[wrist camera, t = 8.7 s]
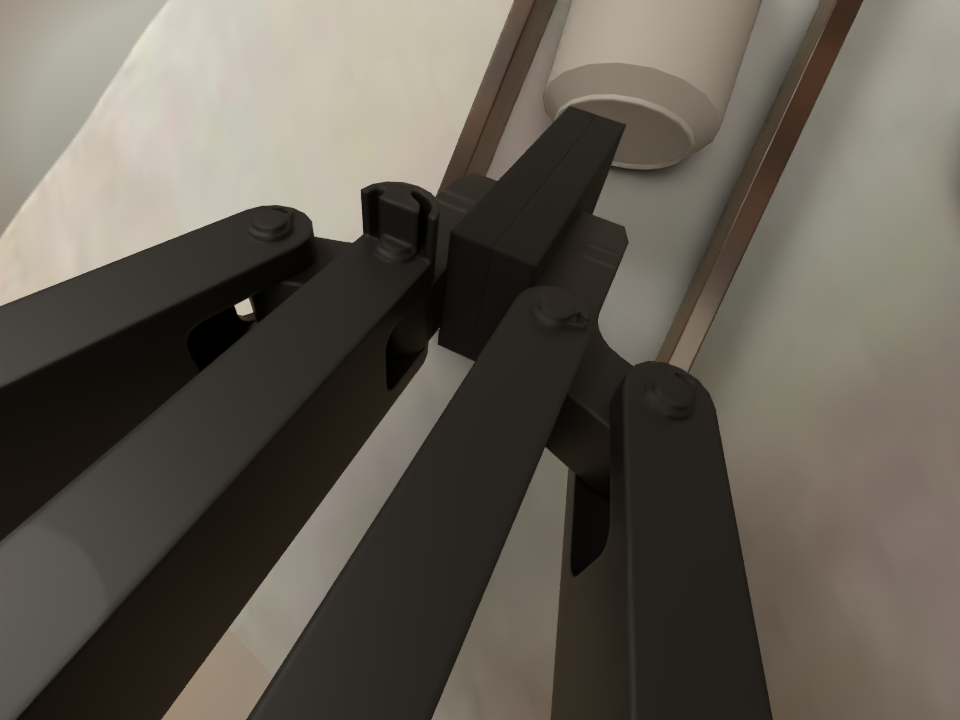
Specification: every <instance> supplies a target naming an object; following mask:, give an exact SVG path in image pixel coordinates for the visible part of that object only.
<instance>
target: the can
mask: <svg viewBox="0 0 960 720" xmlns="http://www.w3.org/2000/svg"><path fill="white" fill-rule="evenodd" d="M761 1H762V0H572V2H571V5H570V9H569V12H568V15H567V19H566V22H565V25H564V29H563V32H562V35H561V39H560V42H559V45H558V49H557V52H556V56H555V59H554V62H553V66H552V69H551V72H550V76H549V79H548V82H547V86H546V89H545V92H544V96H543V99H544V105H545V111H546V113H547V114H548V116H549V117H550V119H551V120H552V122H554V121H555V120H556V119H557V118H558V117H559V116H560V115H561V114H562V113H563V112H564V111H565V110H566V109H567V108H568V107H569V106H572V107H575V108H578V109H581V110H584V111H587V112H590V113H593V114H596V115H599V116H602V117H605V118H608V119H611V120H614V121H617V122H620V123H623V124H626V127H625V129H624V132H623V135H622V137H621V140H620V143H619V145H618V148H617V151H616V153H615V156H614V158H613V161H612V164H611V166H616V167H621V168H627V169H641V170H647V169H659V168H664V167H668V166H671V165H675V164H678V163H679V162H680V161H682V160H683V159H685V158H686V157H688V156H689V155H691V154H693V153H695V152H697V151H699V150H700V149H702V148H703V147H705V146H706V145H708V144H709V143H711V142H712V141H713V139H714V137H715V136H716V134H717V132H718V130H719V129H720V126H721V123H722V120H723V117H724V114H725V111H726V108H727V105H728V102H729V99H730V96H731V93H732V90H733V87H734V84H735V81H736V78H737V74H738V71H739V68H740V65H741V62H742V59H743V56H744V53H745V50H746V47H747V44H748V41H749V38H750V35H751V32H752V29H753V26H754V23H755V20H756V16H757V13H758V10H759V7H760V4H761Z"/></svg>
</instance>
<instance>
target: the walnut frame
mask: <svg viewBox="0 0 960 720" xmlns="http://www.w3.org/2000/svg"><path fill="white" fill-rule="evenodd" d="M862 2H863V0H821V2H820V5H819V7H818V9H817V11H816V13H815V15H814V18H813V20H812V22H811V24H810V26H809V28H808V31H807V33H806V35H805V37H804V39H803V41H802V44H801V46H800V48H799V50H798V52H797V54H796V57H795V59H794V61H793V63H792V65H791V67H790V70H789V72H788V74H787V76H786V78H785V80H784V83H783V85H782V87H781V89H780V91H779V93H778V96H777V98H776V100H775V102H774V104H773V106H772V109H771V111H770V113H769V115H768V117H767V119H766V122H765V124H764V126H763V128H762V130H761V132H760V135H759V137H758V139H757V141H756V143H755V145H754V148H753V150H752V152H751V154H750V156H749V158H748V161H747V163H746V165H745V167H744V169H743V171H742V174H741V176H740V178H739V180H738V182H737V185H736V187H735V189H734V191H733V193H732V195H731V198H730V200H729V202H728V204H727V206H726V208H725V211H724V213H723V215H722V217H721V219H720V221H719V224H718V226H717V228H716V230H715V232H714V234H713V237H712V239H711V241H710V243H709V245H708V247H707V250H706V252H705V254H704V256H703V258H702V260H701V263H700V265H699V267H698V269H697V271H696V273H695V276H694V278H693V280H692V282H691V284H690V286H689V289H688V291H687V293H686V295H685V297H684V299H683V302H682V304H681V306H680V308H679V310H678V312H677V315H676V317H675V319H674V321H673V323H672V325H671V328H670V330H669V332H668V334H667V336H666V338H665V341H664V343H663V345H662V347H661V349H660V351H659V354H658V356H657V358H656V360H655V362H666V363H668V364H671V365H674V366H676V367H679V368H681V369H683V370H685V371H686V372H687V373H689V371H690V368H691V366H692V364H693V362H694V360H695V358H696V356H697V354H698V351H699V349H700V347H701V345H702V343H703V341H704V339H705V336H706V334H707V332H708V330H709V328H710V326H711V324H712V322H713V319H714V317H715V315H716V313H717V311H718V309H719V307H720V305H721V302H722V300H723V298H724V296H725V294H726V292H727V290H728V288H729V285H730V283H731V281H732V279H733V277H734V275H735V273H736V270H737V268H738V266H739V264H740V262H741V260H742V258H743V256H744V253H745V251H746V249H747V247H748V245H749V243H750V241H751V239H752V236H753V234H754V232H755V230H756V228H757V226H758V224H759V222H760V219H761V217H762V215H763V213H764V211H765V209H766V207H767V204H768V202H769V200H770V198H771V196H772V194H773V192H774V190H775V187H776V185H777V183H778V181H779V179H780V177H781V175H782V173H783V170H784V168H785V166H786V164H787V162H788V160H789V158H790V156H791V153H792V151H793V149H794V147H795V145H796V143H797V141H798V139H799V136H800V134H801V132H802V130H803V128H804V126H805V124H806V121H807V119H808V117H809V115H810V113H811V111H812V109H813V107H814V104H815V102H816V100H817V98H818V96H819V94H820V92H821V90H822V87H823V85H824V83H825V81H826V79H827V77H828V75H829V73H830V70H831V68H832V66H833V64H834V62H835V60H836V58H837V55H838V53H839V51H840V49H841V47H842V45H843V43H844V41H845V38H846V36H847V34H848V32H849V30H850V28H851V26H852V24H853V21H854V19H855V17H856V15H857V13H858V11H859V9H860V7H861V4H862ZM555 3H556V0H514V2H513V5H512V7H511V10H510V12H509V15H508V17H507V20H506V23H505V25H504V28H503V30H502V33H501V35H500V38H499V40H498V43H497V45H496V48H495V50H494V53H493V55H492V58H491V60H490V63H489V65H488V68H487V70H486V73H485V75H484V78H483V80H482V83H481V85H480V88H479V90H478V93H477V95H476V98H475V100H474V103H473V105H472V108H471V110H470V113H469V115H468V118H467V120H466V123H465V125H464V128H463V130H462V133H461V135H460V138H459V140H458V143H457V145H456V148H455V150H454V153H453V155H452V158H451V160H450V163H449V165H448V168H447V170H446V173H445V175H444V178H443V180H442V183H441V185H440V188H439V190H438V193H437V195H438V194H439V193H440V192H443V189H445V188H446V187H447V186H448V185H449V184H450V183H451V182H452V181H453V180H454V179H456V178H459V177H462V176H465V175H468V174H471V173H477V174H479V175H482V176H485V175H486V172H487V170H488V167H489V165H490V162H491V160H492V157H493V155H494V152H495V150H496V148H497V145H498V143H499V140H500V138H501V135H502V133H503V130H504V128H505V125H506V123H507V121H508V118H509V116H510V113H511V111H512V108H513V106H514V103H515V101H516V98H517V96H518V94H519V91H520V89H521V86H522V84H523V81H524V79H525V76H526V74H527V71H528V69H529V67H530V64H531V62H532V59H533V57H534V54H535V52H536V49H537V47H538V45H539V42H540V40H541V37H542V35H543V32H544V30H545V27H546V25H547V22H548V20H549V18H550V15H551V13H552V10H553V8H554V5H555ZM437 195H436V196H437Z"/></svg>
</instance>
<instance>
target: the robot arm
mask: <svg viewBox="0 0 960 720" xmlns="http://www.w3.org/2000/svg"><path fill="white" fill-rule="evenodd" d="M625 127H626V124H623V123H620V122H617V121H614V120H611V119H608V118H605V117H602V116H599V115H596V114H593V113H590V112H587V111H584V110H581V109H578V108H575V107H572V106H569V107H568V108H567V109H566V110H565V111H564V112H563V113H562V114H561V115H560V116H559V117H558V118H557V119H556V120H555V121H554V122H553V123H552V125H551V126H550V127H549V128H548V129H547V130H546V131H545V132H544V133H543V134H542V135H541V136H540V137H539V138H538V139H537V140H536V141H535V142H534V144H533V145H532V146H531V147H530V148H529V149H528V150H527V151H526V152H525V153H524V154H523V155H522V156H521V157H520V158H519V159H518V160H517V162H516V163H515V164H514V165H513V166H512V167H511V168H510V169H509V170H508V171H507V172H506V173H505V174H504V175H503V176H502V177H501V178H500V179H499V181H495V180H493V179H490V178H487V177H485V176H482V175H479V174H477V173H471V174H468V175H465V176H462V177H459V178H456V179H454V180H453V181H452V182H451V183H450V184H449V185H448V186H447V187H446V188H445V189H443V192H440V193H439V194H438V195H437V196H436V197H434V196H433V195H432V194H431V193H430V192H428V191H426V190H424V189H423V188H421V187H419V186H415V185H412V184H408V183H404V182H382V183H376V184H372V185H370V186H367V187H365V188H363V189H361V201H362V218H363V235H362V236H361V237H360V238H358V239H357V240H356V241H355V242H354V243H349V242H342V241H336V240H330V239H324V238H318V237H314V233H313V227H312V221H311V220H310V219H309V218H308V217H307V216H306V214H305V213H303V212H300V211H298V210H296V209H294V208H290V207H284V206H279V205H272V206H260V207H256V208H252V209H248V210H245V211H243V212H240V213H237V214H235V215H232V216H230V217H227V218H225V219H222V220H220V221H217V222H214V223H212V224H209V225H207V226H204V227H202V228H199V229H197V230H194V231H191V232H189V233H186V234H184V235H181V236H179V237H176V238H174V239H171V240H168V241H166V242H163V243H161V244H158V245H156V246H153V247H151V248H148V249H145V250H143V251H140V252H138V253H135V254H133V255H130V256H128V257H125V258H122V259H120V260H117V261H115V262H112V263H110V264H107V265H105V266H102V267H100V268H97V269H94V270H92V271H89V272H87V273H84V274H82V275H79V276H77V277H74V278H71V279H69V280H66V281H64V282H61V283H59V284H56V285H54V286H51V287H48V288H46V289H43V290H41V291H38V292H36V293H33V294H31V295H28V296H25V297H23V298H20V299H18V300H15V301H13V302H10V303H8V304H5V305H2V306H0V720H161V719H162V718H163V716H164V715H165V714H166V712H167V711H168V710H169V708H170V707H171V705H172V704H173V703H174V701H175V700H176V699H177V697H178V696H179V695H180V693H181V692H182V691H183V689H184V688H185V686H186V685H187V684H188V682H189V681H190V680H191V678H192V677H193V676H194V674H195V673H196V672H197V670H198V669H199V667H200V666H201V665H202V663H203V662H204V661H205V659H206V658H207V656H208V655H209V654H210V652H211V651H212V650H213V648H214V647H215V646H216V644H217V643H218V642H219V640H220V639H221V637H222V636H223V635H224V633H225V632H226V631H227V629H228V628H229V627H230V625H231V624H232V623H233V621H234V620H235V619H236V617H237V616H238V614H239V613H240V612H241V610H242V609H243V608H244V606H245V605H246V604H247V602H248V601H249V600H250V598H251V597H252V595H253V594H254V593H255V591H256V590H257V589H258V587H259V586H260V585H261V583H262V582H263V581H264V579H265V578H266V576H267V575H268V574H269V572H270V571H271V570H272V568H273V567H274V566H275V564H276V563H277V561H278V560H279V559H280V557H281V556H282V555H283V553H284V552H285V551H286V549H287V548H288V547H289V545H290V544H291V542H292V541H293V540H294V538H295V537H296V536H297V534H298V533H299V532H300V530H301V529H302V528H303V526H304V525H305V523H306V522H307V521H308V519H309V518H310V517H311V515H312V514H313V513H314V511H315V510H316V509H317V507H318V506H319V504H320V503H321V502H322V500H323V499H324V498H325V496H326V495H327V494H328V492H329V491H330V489H331V488H332V487H333V485H334V484H335V483H336V481H337V480H338V479H339V477H340V476H341V475H342V473H343V472H344V470H345V469H346V468H347V466H348V465H349V464H350V462H351V461H352V460H353V458H354V457H355V456H356V454H357V453H358V451H359V450H360V449H361V447H362V446H363V445H364V443H365V442H366V441H367V439H368V438H369V436H370V435H371V434H372V432H373V431H374V430H375V428H376V427H377V426H378V424H379V423H380V422H381V420H382V419H383V417H384V416H385V415H386V413H387V412H388V411H389V409H390V408H391V407H392V405H393V404H394V403H395V401H396V400H397V398H398V397H399V396H400V394H401V393H402V392H403V390H404V389H405V388H406V386H407V385H408V384H409V382H410V381H411V379H412V378H413V377H414V375H415V374H416V373H417V371H418V370H419V369H420V367H421V366H422V364H423V363H424V361H425V359H426V356H427V354H428V342H429V340H430V339H431V338H432V336H433V335H434V334H435V332H436V331H437V330H438V329H439V327H440V329H439V338H438V345H440V346H442V347H444V348H447V349H449V350H451V351H453V352H456V353H458V354H460V355H462V356H464V357H467V358H469V359H471V360H473V361H475V363H474V364H473V366H472V367H471V369H470V371H469V372H468V374H467V375H466V377H465V378H464V380H463V382H462V383H461V385H460V386H459V388H458V389H457V391H456V393H455V394H454V396H453V397H452V399H451V400H450V402H449V403H448V405H447V407H446V408H445V410H444V411H443V413H442V414H441V416H440V418H439V419H438V421H437V422H436V424H435V425H434V427H433V428H432V430H431V432H430V433H429V435H428V436H427V438H426V439H425V441H424V443H423V444H422V446H421V447H420V449H419V450H418V452H417V453H416V455H415V457H414V458H413V460H412V461H411V463H410V464H409V466H408V468H407V469H406V471H405V472H404V474H403V475H402V477H401V479H400V480H399V482H398V483H397V485H396V486H395V488H394V489H393V491H392V493H391V494H390V496H389V497H388V499H387V500H386V502H385V504H384V505H383V507H382V508H381V510H380V511H379V513H378V514H377V516H376V518H375V519H374V521H373V522H372V524H371V525H370V527H369V529H368V530H367V532H366V533H365V535H364V536H363V538H362V539H361V541H360V543H359V544H358V546H357V547H356V549H355V550H354V552H353V554H352V555H351V557H350V558H349V560H348V561H347V563H346V565H345V566H344V568H343V569H342V571H341V572H340V574H339V575H338V577H337V579H336V580H335V582H334V583H333V585H332V586H331V588H330V590H329V591H328V593H327V594H326V596H325V597H324V599H323V600H322V602H321V604H320V605H319V607H318V608H317V610H316V611H315V613H314V615H313V616H312V618H311V619H310V621H309V622H308V624H307V625H306V627H305V629H304V630H303V632H302V633H301V635H300V636H299V638H298V640H297V641H296V643H295V644H294V646H293V647H292V649H291V651H290V652H289V654H288V655H287V657H286V658H285V660H284V661H283V663H282V665H281V666H280V668H279V669H278V671H277V672H276V674H275V676H274V677H273V679H272V680H271V682H270V683H269V685H268V686H267V688H266V690H265V691H264V693H263V694H262V696H261V698H260V699H259V701H258V702H257V704H256V705H255V707H254V708H253V710H252V711H251V713H250V715H249V716H248V718H247V719H246V720H431V719H432V717H433V714H434V712H435V709H436V707H437V705H438V702H439V700H440V697H441V695H442V693H443V690H444V688H445V685H446V683H447V681H448V678H449V676H450V673H451V671H452V669H453V666H454V664H455V661H456V659H457V657H458V654H459V652H460V649H461V647H462V645H463V642H464V640H465V638H466V635H467V633H468V630H469V628H470V626H471V623H472V621H473V618H474V616H475V614H476V611H477V609H478V606H479V604H480V602H481V599H482V597H483V594H484V592H485V590H486V587H487V585H488V582H489V580H490V578H491V575H492V573H493V570H494V568H495V566H496V563H497V561H498V558H499V556H500V554H501V551H502V549H503V547H504V544H505V542H506V539H507V537H508V535H509V532H510V530H511V527H512V525H513V523H514V520H515V518H516V515H517V513H518V511H519V508H520V506H521V503H522V501H523V499H524V496H525V494H526V491H527V489H528V487H529V484H530V482H531V479H532V477H533V475H534V472H535V470H536V467H537V465H538V463H539V460H540V458H541V456H542V453H543V451H544V448H545V447H546V448H547V449H548V450H549V451H551V452H552V453H553V454H554V455H555V456H556V457H557V458H558V459H560V460H561V461H562V462H563V463H564V464H565V465H566V466H567V467H568V468H569V470H568V482H567V496H566V511H565V525H564V539H563V553H562V567H561V582H560V596H559V610H558V624H557V638H556V653H555V667H554V681H553V695H552V709H551V720H773V718H772V713H771V707H770V702H769V696H768V691H767V685H766V680H765V675H764V669H763V664H762V658H761V653H760V647H759V642H758V637H757V631H756V626H755V620H754V615H753V610H752V604H751V599H750V593H749V588H748V582H747V577H746V572H745V566H744V561H743V555H742V550H741V544H740V539H739V534H738V528H737V523H736V517H735V512H734V507H733V501H732V496H731V490H730V485H729V479H728V474H727V469H726V463H725V458H724V452H723V447H722V441H721V436H720V431H719V425H718V420H717V414H716V409H715V406H714V404H713V401H712V399H711V396H710V394H709V392H708V391H707V390H706V389H705V388H704V387H703V385H702V384H701V383H700V382H699V381H698V380H697V379H696V378H695V377H693V376H692V375H690V374H689V373H687V372H686V371H685V370H683V369H681V368H679V367H676V366H674V365H671V364H668V363H666V362H655V361H647V362H644V363H640V364H636V365H635V366H633V365H631V364H630V363H628V362H627V361H626V360H624V359H623V358H622V357H620V356H619V355H618V354H617V353H616V352H615V351H613V350H612V349H611V348H610V347H609V345H608V344H607V343H606V342H605V340H604V339H603V337H602V335H601V333H600V331H599V326H598V317H599V313H600V310H601V308H602V305H603V303H604V301H605V298H606V296H607V293H608V291H609V289H610V286H611V284H612V281H613V279H614V277H615V274H616V272H617V269H618V267H619V265H620V262H621V260H622V257H623V255H624V253H625V250H626V248H627V245H628V243H629V242H628V238H627V235H626V231H625V227H624V226H621V225H618V224H616V223H613V222H610V221H608V220H605V219H602V218H600V217H597V216H594V215H592V214H593V211H594V209H595V206H596V203H597V201H598V198H599V195H600V193H601V190H602V188H603V185H604V182H605V180H606V177H607V174H608V172H609V169H610V166H611V164H612V161H613V158H614V156H615V153H616V151H617V148H618V145H619V143H620V140H621V137H622V135H623V132H624V129H625ZM247 298H249V300H250V303H251V306H252V309H253V313H251V314H247V315H244V316H241V315H237V312H236V309H235V307H234V305H236V304H238V303H240V302H241V301H243V300H245V299H247Z"/></svg>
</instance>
